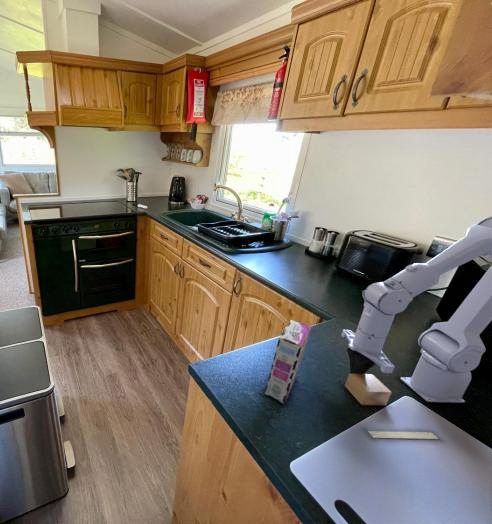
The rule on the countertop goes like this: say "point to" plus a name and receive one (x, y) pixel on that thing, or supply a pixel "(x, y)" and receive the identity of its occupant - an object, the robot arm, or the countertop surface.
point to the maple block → (367, 389)
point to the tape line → (403, 435)
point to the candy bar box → (287, 360)
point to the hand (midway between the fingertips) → (355, 376)
